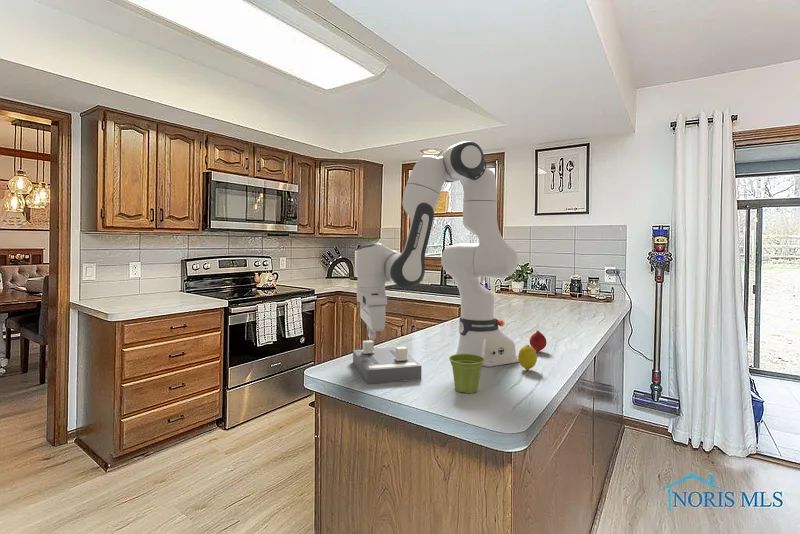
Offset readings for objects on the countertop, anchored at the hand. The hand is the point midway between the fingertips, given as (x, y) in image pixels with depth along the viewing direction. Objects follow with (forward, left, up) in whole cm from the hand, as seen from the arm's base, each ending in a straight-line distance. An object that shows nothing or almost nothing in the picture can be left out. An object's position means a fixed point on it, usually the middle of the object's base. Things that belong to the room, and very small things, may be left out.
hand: (372, 338), depth 135 cm
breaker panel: (-3, +4, -9) cm, 11 cm away
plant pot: (-20, +26, -9) cm, 34 cm away
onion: (-62, -3, -9) cm, 63 cm away
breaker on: (-7, +8, -5) cm, 12 cm away
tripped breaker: (+1, -2, -5) cm, 5 cm away
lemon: (-46, +15, -9) cm, 50 cm away
